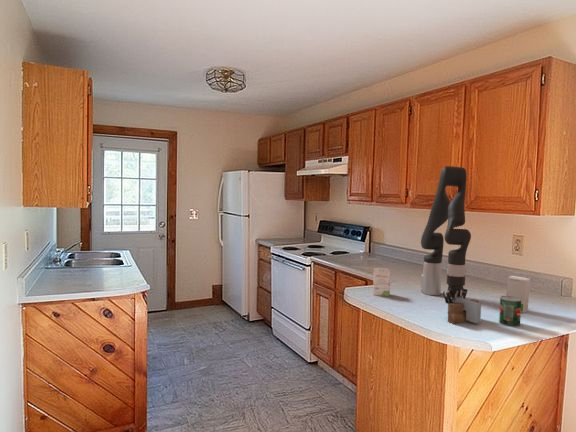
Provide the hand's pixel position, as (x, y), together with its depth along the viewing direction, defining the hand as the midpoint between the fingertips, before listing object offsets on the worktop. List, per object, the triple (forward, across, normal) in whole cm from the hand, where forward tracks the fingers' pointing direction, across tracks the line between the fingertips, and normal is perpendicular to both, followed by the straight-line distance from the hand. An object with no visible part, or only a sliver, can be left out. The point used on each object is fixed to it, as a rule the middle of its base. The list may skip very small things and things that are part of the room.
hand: (454, 312), depth 178 cm
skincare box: (+3, -36, +6) cm, 37 cm away
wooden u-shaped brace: (+2, 0, +4) cm, 5 cm away
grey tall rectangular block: (+1, 0, +4) cm, 5 cm away
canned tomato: (+3, -14, +16) cm, 22 cm away
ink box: (+3, +2, -44) cm, 45 cm away
